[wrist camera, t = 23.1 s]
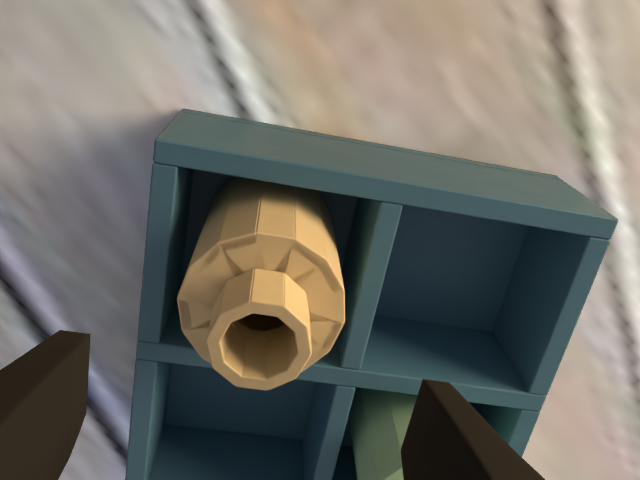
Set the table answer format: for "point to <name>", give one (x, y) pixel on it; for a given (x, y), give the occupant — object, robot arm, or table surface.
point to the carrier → (361, 297)
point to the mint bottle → (379, 432)
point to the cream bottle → (263, 284)
